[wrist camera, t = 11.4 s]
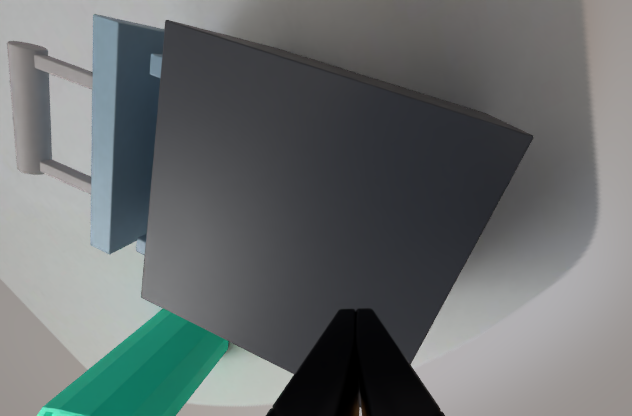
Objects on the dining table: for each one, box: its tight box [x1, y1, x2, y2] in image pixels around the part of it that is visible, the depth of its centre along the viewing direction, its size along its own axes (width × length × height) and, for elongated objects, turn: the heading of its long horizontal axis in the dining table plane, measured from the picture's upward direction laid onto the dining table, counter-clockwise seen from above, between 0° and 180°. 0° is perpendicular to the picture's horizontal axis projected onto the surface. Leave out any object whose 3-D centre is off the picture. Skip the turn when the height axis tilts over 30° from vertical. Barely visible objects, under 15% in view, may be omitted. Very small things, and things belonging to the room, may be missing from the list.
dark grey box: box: [141, 20, 533, 407], centre depth 16 cm, size 12×12×9 cm
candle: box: [37, 309, 229, 416], centre depth 22 cm, size 6×6×12 cm
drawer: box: [7, 14, 165, 255], centre depth 18 cm, size 16×10×7 cm, turn 74°
